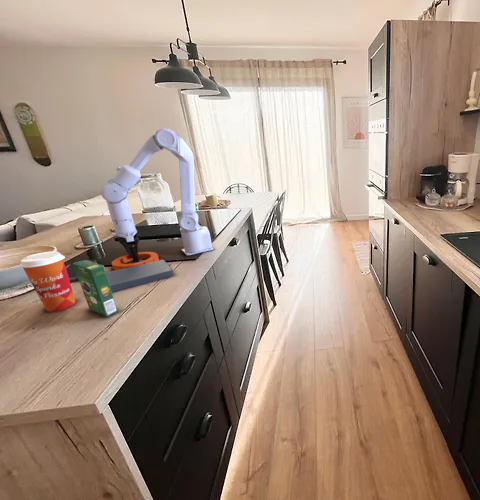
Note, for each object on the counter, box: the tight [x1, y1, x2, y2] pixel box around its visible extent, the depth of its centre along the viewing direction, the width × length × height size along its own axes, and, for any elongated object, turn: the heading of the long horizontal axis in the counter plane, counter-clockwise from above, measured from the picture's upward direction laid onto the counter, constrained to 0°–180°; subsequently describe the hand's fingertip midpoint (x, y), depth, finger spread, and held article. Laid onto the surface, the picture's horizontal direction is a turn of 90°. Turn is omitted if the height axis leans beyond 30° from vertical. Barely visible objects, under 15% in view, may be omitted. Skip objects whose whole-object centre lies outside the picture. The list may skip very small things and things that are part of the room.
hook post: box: [128, 244, 144, 264], centre depth 99 cm, size 4×4×7 cm
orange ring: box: [111, 251, 160, 271], centre depth 100 cm, size 13×13×2 cm
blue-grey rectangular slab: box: [106, 259, 174, 293], centre depth 90 cm, size 16×12×2 cm
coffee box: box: [72, 259, 118, 318], centre depth 70 cm, size 8×3×13 cm, turn 65°
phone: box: [65, 259, 98, 283], centre depth 93 cm, size 8×1×15 cm
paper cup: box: [19, 250, 76, 312], centre depth 72 cm, size 8×8×14 cm
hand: (133, 255), depth 104 cm, fingers open, 3 cm apart
